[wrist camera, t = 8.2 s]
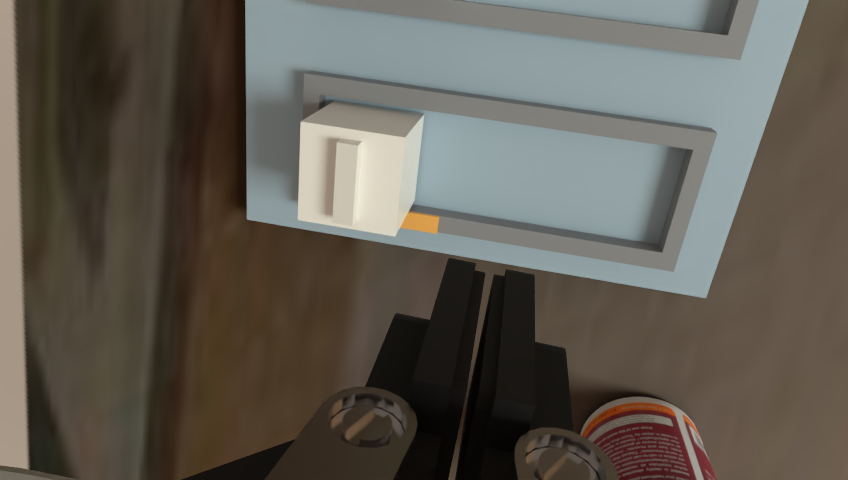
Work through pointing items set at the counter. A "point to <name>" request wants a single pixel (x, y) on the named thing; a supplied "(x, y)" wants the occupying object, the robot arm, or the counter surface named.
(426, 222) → the switch bank
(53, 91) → the counter surface
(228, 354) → the counter surface
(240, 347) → the counter surface
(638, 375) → the counter surface
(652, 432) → the pill bottle
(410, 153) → the white block with handle
